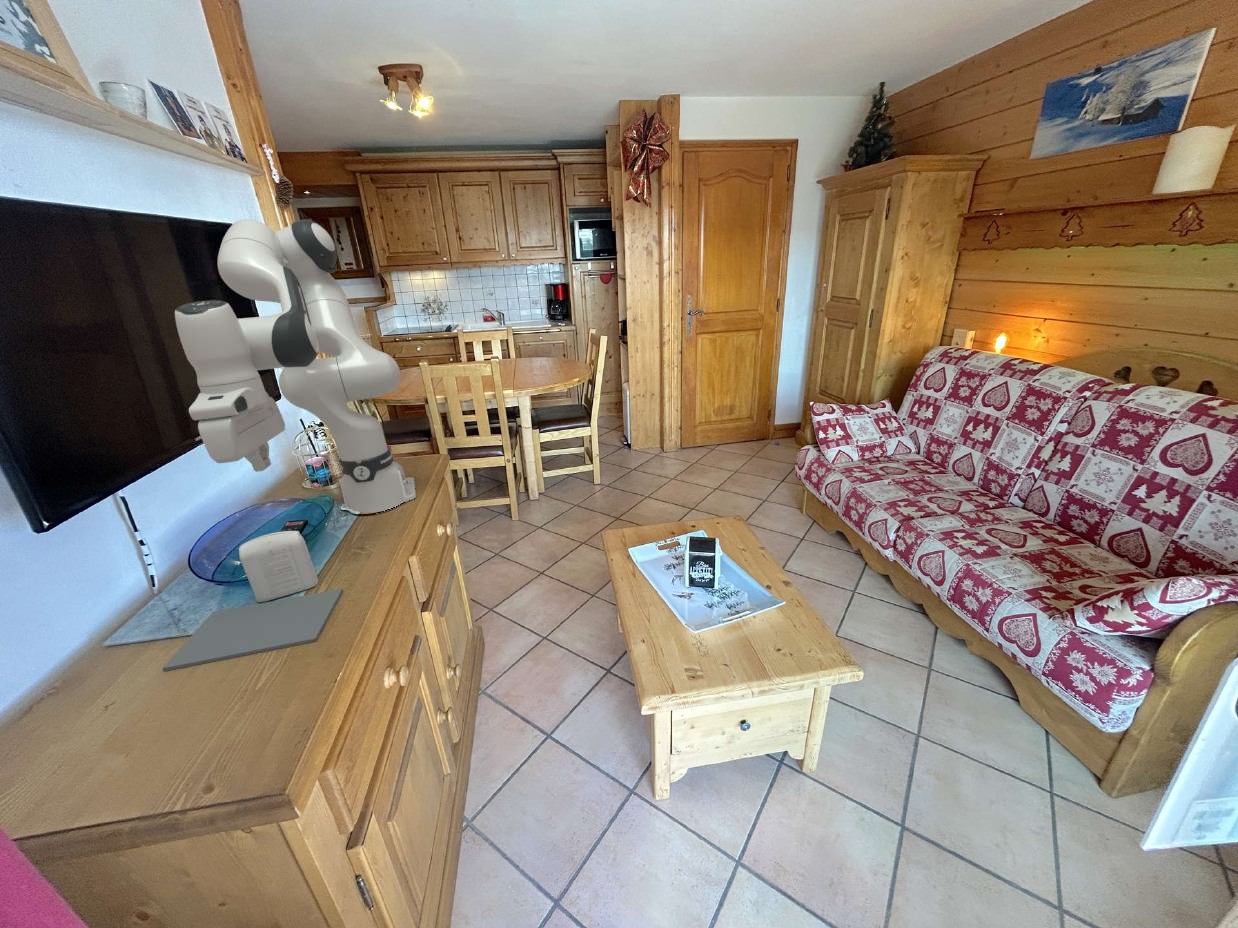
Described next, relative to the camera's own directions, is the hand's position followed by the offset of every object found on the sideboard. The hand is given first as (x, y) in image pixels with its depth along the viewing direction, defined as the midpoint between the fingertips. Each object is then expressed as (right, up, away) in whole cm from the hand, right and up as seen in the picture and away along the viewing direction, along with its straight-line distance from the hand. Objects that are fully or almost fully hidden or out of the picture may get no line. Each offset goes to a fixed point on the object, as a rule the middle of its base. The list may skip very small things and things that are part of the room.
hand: (263, 468), depth 91 cm
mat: (+5, -27, -8) cm, 29 cm away
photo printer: (+3, -24, +2) cm, 24 cm away
